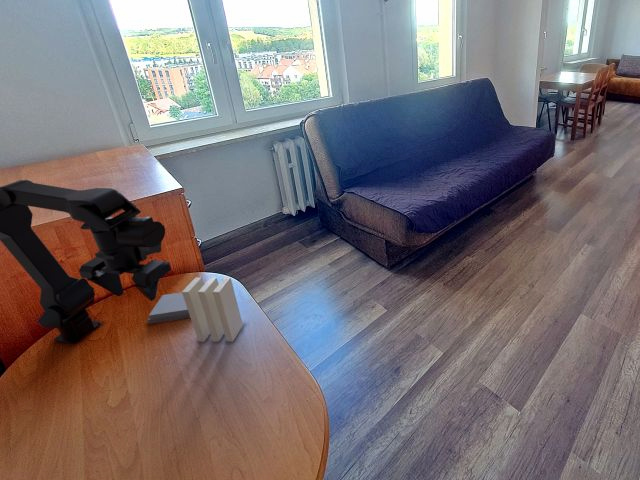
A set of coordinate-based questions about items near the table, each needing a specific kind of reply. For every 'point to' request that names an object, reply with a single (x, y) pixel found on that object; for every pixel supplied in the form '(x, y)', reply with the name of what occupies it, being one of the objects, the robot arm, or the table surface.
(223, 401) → the table surface
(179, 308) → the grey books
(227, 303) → the cream books
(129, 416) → the table surface
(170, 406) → the table surface
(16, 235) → the robot arm
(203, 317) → the slim cream book
